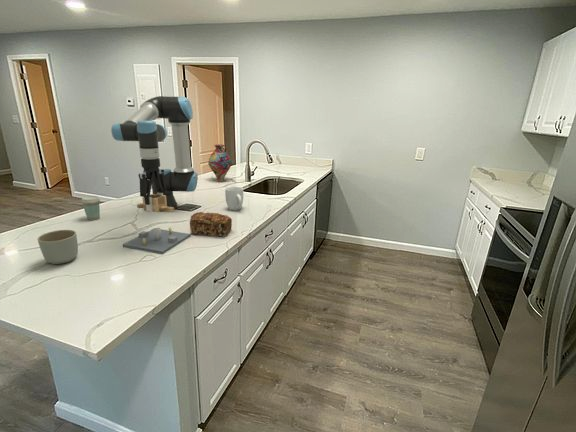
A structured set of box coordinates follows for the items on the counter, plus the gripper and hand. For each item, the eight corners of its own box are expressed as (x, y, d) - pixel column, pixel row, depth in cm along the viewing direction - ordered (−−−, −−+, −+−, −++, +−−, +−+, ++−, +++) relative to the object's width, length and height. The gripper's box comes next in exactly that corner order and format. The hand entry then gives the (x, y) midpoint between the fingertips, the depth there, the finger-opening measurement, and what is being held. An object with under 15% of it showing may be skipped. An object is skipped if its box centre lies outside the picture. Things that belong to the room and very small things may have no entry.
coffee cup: (106, 217, 176) (102, 196, 172) (91, 222, 168) (87, 200, 164) (96, 215, 179) (92, 194, 175) (81, 219, 172) (76, 198, 168)
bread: (189, 234, 157) (188, 215, 154) (199, 227, 167) (197, 209, 164) (225, 238, 155) (225, 218, 151) (232, 230, 165) (232, 211, 161)
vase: (210, 178, 275) (208, 143, 265) (232, 178, 277) (231, 143, 267) (207, 183, 258) (205, 146, 248) (231, 183, 260) (230, 146, 250)
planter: (39, 269, 120) (33, 243, 117) (48, 256, 131) (42, 231, 127) (78, 264, 125) (72, 239, 121) (83, 251, 136) (78, 228, 132)
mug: (249, 211, 193) (249, 191, 189) (232, 214, 187) (232, 193, 183) (239, 205, 205) (238, 185, 201) (223, 207, 199) (222, 187, 195)
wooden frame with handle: (133, 209, 143) (132, 196, 141) (144, 205, 149) (143, 192, 148) (167, 213, 138) (166, 200, 136) (177, 209, 145) (176, 196, 143)
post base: (123, 246, 141) (121, 233, 139) (154, 230, 160) (153, 219, 158) (163, 254, 136) (161, 240, 134) (190, 236, 155) (189, 224, 153)
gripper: (140, 161, 126) (147, 216, 134) (172, 155, 145) (176, 204, 152) (125, 160, 128) (132, 214, 136) (158, 154, 147) (162, 202, 154)
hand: (155, 208), depth 144 cm, fingers closed on wooden frame with handle, 7 cm apart
